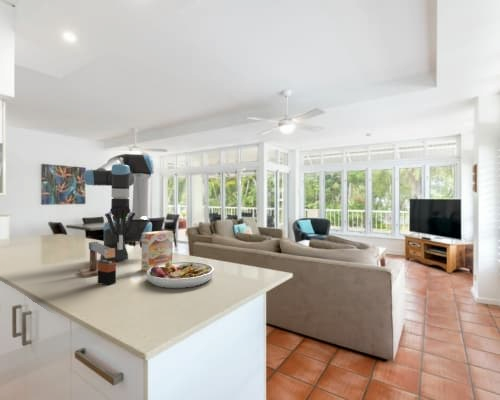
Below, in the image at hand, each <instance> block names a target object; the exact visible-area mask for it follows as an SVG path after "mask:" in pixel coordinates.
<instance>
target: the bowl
mask: <svg viewBox="0 0 500 400" xmlns="http://www.w3.org/2000/svg"><path fill="white" fill-rule="evenodd" d="M214 272H215V271H214V266H213V265H210V264H207V263H204V262H196V261H178V262H177V261H175V262H172V263H167V264H161V265H158V266H155V267H152V268H150V269H149V270H148V271H146V277H147V279H148V281H149V282H150V283H151V284H152V285H154V286H156V287H159V288H164V287H165V288H166V289H185V288H186V287H188V288H192V287H197V285H198V286H200V284H201V285H203V284H204V283H207V282H208V281H209V280H211V279H212V278H213V275H214Z"/></svg>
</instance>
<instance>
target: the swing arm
mask: <svg viewBox="0 0 500 400" xmlns="http://www.w3.org/2000/svg"><path fill="white" fill-rule="evenodd" d="M90 249H91V250H93V251H95V252H97V254H99V255H100V256H101V255H103V256H105V258H112V257H115V249H114V248H109V247H107V246H105V245H104V244H102V243H101V242H99V241H91V242H88V250H90Z"/></svg>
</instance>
